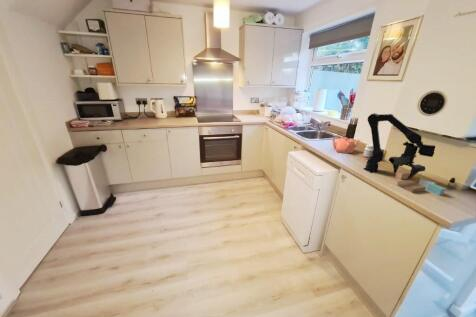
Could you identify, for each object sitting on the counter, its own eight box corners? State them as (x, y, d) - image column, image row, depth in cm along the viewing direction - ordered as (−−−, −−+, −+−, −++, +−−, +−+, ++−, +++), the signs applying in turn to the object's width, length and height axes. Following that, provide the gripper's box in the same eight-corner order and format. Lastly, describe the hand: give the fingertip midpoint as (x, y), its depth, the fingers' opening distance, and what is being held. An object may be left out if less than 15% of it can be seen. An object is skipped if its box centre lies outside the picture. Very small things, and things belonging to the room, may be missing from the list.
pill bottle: (368, 157, 166) (371, 144, 162) (372, 160, 160) (376, 146, 156) (360, 157, 166) (364, 144, 162) (365, 159, 160) (368, 146, 156)
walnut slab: (396, 186, 120) (398, 181, 119) (407, 184, 123) (409, 180, 122) (412, 193, 112) (414, 188, 111) (423, 191, 114) (425, 187, 113)
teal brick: (426, 190, 116) (429, 184, 114) (430, 189, 117) (433, 183, 115) (438, 195, 110) (441, 189, 109) (443, 194, 111) (446, 188, 110)
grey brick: (417, 185, 122) (420, 179, 120) (422, 184, 122) (424, 178, 121) (429, 189, 116) (431, 183, 115) (433, 189, 117) (435, 183, 116)
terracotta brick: (400, 179, 128) (402, 173, 127) (395, 177, 131) (396, 171, 130) (407, 178, 130) (409, 173, 128) (401, 176, 133) (403, 170, 131)
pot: (339, 147, 191) (342, 134, 187) (358, 152, 178) (361, 138, 173) (327, 150, 182) (330, 136, 177) (346, 155, 168) (349, 141, 164)
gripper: (385, 149, 131) (379, 171, 136) (416, 159, 114) (407, 183, 119) (398, 148, 134) (391, 169, 139) (430, 158, 117) (420, 181, 122)
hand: (401, 175), depth 130 cm, fingers open, 9 cm apart
